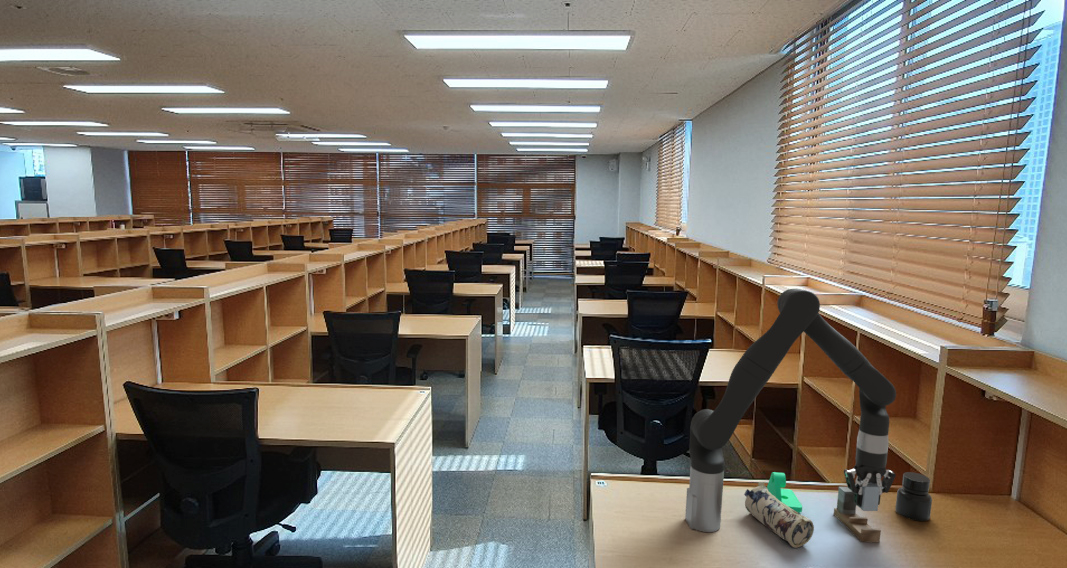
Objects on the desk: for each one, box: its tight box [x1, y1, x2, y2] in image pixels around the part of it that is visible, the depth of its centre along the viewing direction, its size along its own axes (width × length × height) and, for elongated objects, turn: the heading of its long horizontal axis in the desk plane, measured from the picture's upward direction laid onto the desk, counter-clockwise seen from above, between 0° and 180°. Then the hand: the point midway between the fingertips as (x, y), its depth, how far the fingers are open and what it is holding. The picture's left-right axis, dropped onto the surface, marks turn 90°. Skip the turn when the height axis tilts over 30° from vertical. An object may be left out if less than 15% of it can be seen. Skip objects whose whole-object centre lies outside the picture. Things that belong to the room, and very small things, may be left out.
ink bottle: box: [895, 471, 933, 522], centre depth 181 cm, size 10×9×12 cm
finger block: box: [858, 483, 880, 512], centre depth 168 cm, size 4×4×7 cm
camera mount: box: [766, 471, 803, 513], centre depth 185 cm, size 12×8×10 cm, turn 172°
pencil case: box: [743, 481, 815, 549], centre depth 170 cm, size 22×8×10 cm, turn 16°
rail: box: [833, 486, 882, 543], centre depth 173 cm, size 5×15×9 cm, turn 1°
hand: (866, 505), depth 168 cm, fingers closed on finger block, 4 cm apart
